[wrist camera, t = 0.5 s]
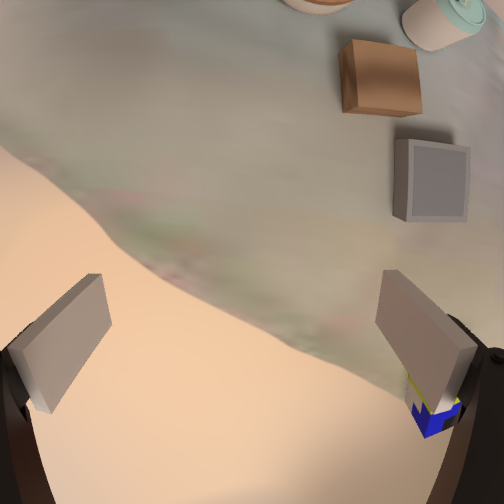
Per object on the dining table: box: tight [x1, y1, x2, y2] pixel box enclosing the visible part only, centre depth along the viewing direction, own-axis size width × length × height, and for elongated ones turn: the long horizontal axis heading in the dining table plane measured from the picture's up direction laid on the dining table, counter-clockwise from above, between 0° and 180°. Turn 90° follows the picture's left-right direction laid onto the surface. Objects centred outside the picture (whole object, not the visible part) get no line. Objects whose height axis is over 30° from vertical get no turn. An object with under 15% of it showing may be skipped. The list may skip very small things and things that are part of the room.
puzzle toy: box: [405, 374, 462, 438], centre depth 42 cm, size 10×10×10 cm
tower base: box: [393, 139, 470, 222], centre depth 35 cm, size 10×10×4 cm
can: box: [402, 0, 486, 51], centre depth 24 cm, size 7×7×12 cm
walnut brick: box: [338, 39, 422, 117], centre depth 31 cm, size 8×8×6 cm
